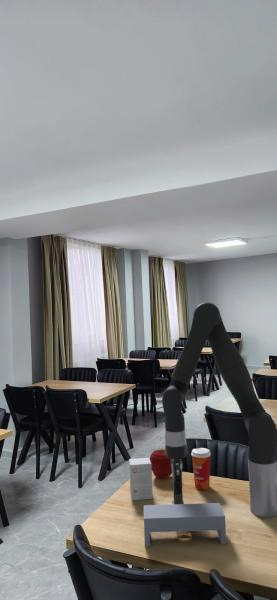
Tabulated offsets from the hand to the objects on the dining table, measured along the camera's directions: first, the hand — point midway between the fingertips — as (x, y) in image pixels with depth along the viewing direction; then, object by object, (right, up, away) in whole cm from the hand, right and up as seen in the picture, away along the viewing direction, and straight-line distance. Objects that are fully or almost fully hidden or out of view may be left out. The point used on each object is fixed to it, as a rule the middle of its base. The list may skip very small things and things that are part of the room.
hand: (177, 491), depth 137 cm
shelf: (0, -4, -20) cm, 20 cm away
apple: (-4, -7, +24) cm, 25 cm away
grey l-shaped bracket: (0, -5, -7) cm, 9 cm away
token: (0, -5, -20) cm, 20 cm away
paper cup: (+11, -6, +14) cm, 19 cm away
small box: (-13, -6, +8) cm, 16 cm away
